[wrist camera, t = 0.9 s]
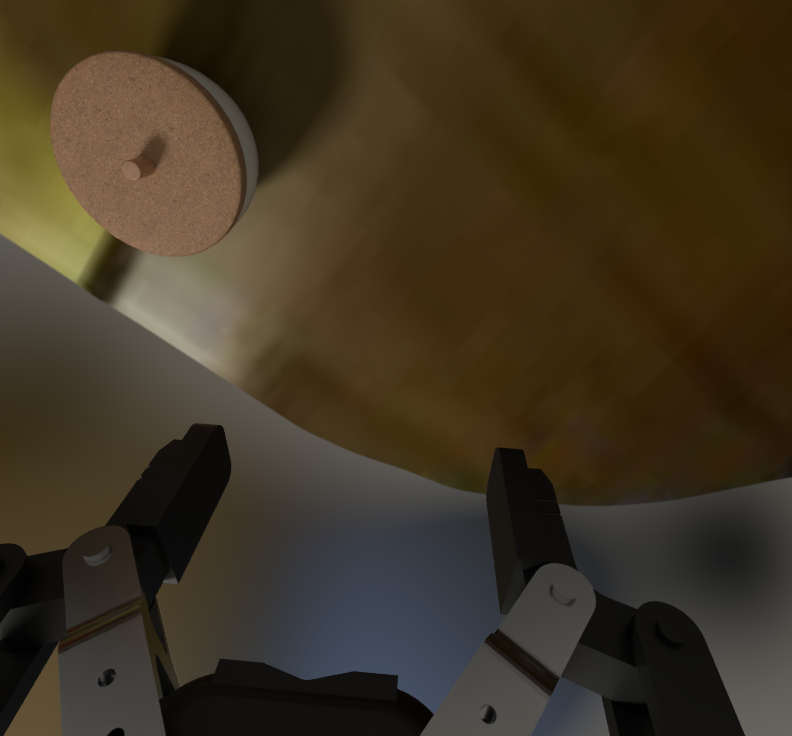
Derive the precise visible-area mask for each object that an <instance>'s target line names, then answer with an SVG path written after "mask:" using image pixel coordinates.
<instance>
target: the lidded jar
mask: <svg viewBox="0 0 792 736" xmlns="http://www.w3.org/2000/svg"><path fill="white" fill-rule="evenodd" d="M50 132H51V140H52V146H53V150H54V154H55V158H56V161H57V164H58V166H59V168H60V171H61V173H62V176H63V178H64V179H65V181H66V183H67V185H68V187H69V189H70V191H71V192H72V193H73V195H74V196H75V198H76V199H77V200H78V202H79V203H80V205H81V206H82V207H83V208H84V209H85V210H86V212H87V213H88V214H89V215H90V216H91V217H92V218H93V219H94V220H95V221H96V222H97V223H98V224H100V225H101V226H102V227H103V228H104V229H105V230H107V231H108V232H109V233H111V234H112V235H113V236H115V237H116V238H118V239H120V240H122V241H123V242H125V243H127V244H128V245H131V246H133V247H135V248H138V249H140V250H142V251H145V252H149V253H152V254H156V255H163V256H187V255H193V254H196V253H199V252H202V251H204V250H207V249H208V248H210V247H212V246H213V245H215V244H216V243H218V242H219V241H220V240H221V239H222V238H223V237H224V236H225V235H227V234H228V233H229V231H230V230H231V229H232V227H233V226H234V225H235V224H236V223H237V222H238V221H239V220H240V219H241V217H242V216H243V215H244V213H245V212H246V210H247V209H248V207H249V205H250V203H251V201H252V199H253V196H254V193H255V189H256V186H257V182H258V174H259V158H258V152H257V147H256V143H255V139H254V136H253V133H252V130H251V128H250V126H249V124H248V122H247V120H246V118H245V116H244V115H243V113H242V112H241V110H240V108H239V107H238V105H237V104H236V103H235V102H234V101H233V99H232V98H231V97H230V96H229V95H228V94H227V93H226V92H225V91H224V90H223V89H222V88H221V87H220V86H219V85H218V84H216V83H215V82H213V81H212V80H211V79H209V78H208V77H206V76H205V75H204V74H202V73H201V72H199V71H197V70H195V69H193V68H191V67H189V66H187V65H184V64H182V63H179V62H176V61H173V60H170V59H167V58H162V57H155V56H152V55H149V54H145V53H139V52H133V51H125V50H120V51H105V52H101V53H97V54H93V55H90V56H89V57H87V58H85V59H83V60H81V61H79V62H78V63H77V64H75V65H74V66H73V67H72V68H71V69H70V70H69V71H68V72H67V73H66V74H65V76H64V77H63V79H62V80H61V82H60V83H59V85H58V88H57V90H56V92H55V95H54V98H53V102H52V107H51V113H50Z"/></svg>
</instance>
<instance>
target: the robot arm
mask: <svg viewBox="0 0 792 736" xmlns="http://www.w3.org/2000/svg"><path fill="white" fill-rule="evenodd" d="M230 474H231V460H230V455H229V450H228V446H227V441H226V437H225V432H224V429H223V427H222V426H221V425H212V424H198V423H195V424H193V425H192V426H191V427H190V429H189V430H188V432H187V433H186V435H185V436H184V438H183V439H182V440H176V439H175V440H173V441H171V442H170V443H169V444H167V445H166V446H165V447H163V448H162V449H161V450H159V451H158V453H157V454H156V455H155V457H154V458H153V459H152V461H151V462H150V464H149V465H148V468H147V469H145V471H144V472H143V474H142V475H141V476H140V480H138V481H137V482H136V483H135V485H134V486H133V487H132V489H131V490H130V492H129V493H128V495H127V496H126V497H125V499H124V500H123V501H122V503H121V504H120V506H119V507H118V508H117V510H116V512H115V513H114V514H113V516H112V517H111V518H110V520H109V521H108V523H107V524H106V525H105V526H103V527H99V528H96V529H93V530H91V531H88V532H87V533H85V534H83V535H82V536H81V537H79V538H78V539H77V540H75V541H74V542H73V543H72V544H71V545H70V546H69V548H66V549H63V550H57V551H52V552H46V553H41V554H36V555H31V556H27V554H26V553H25V551H24V550H23V549H22V547H20V546H19V545H16V544H10V543H8V544H0V736H4V734H5V732H6V730H7V729H8V727H9V725H10V724H11V722H12V720H13V719H14V717H15V715H16V713H17V712H18V710H19V708H20V707H21V705H22V703H23V702H24V700H25V698H26V697H27V695H28V693H29V691H30V690H31V688H32V686H33V685H34V683H35V681H36V680H37V678H38V676H39V674H40V673H41V671H42V669H43V668H44V666H45V664H46V663H47V661H48V659H49V658H50V656H51V654H52V652H53V650H54V649H55V647H56V646H57V644H58V642H59V646H58V660H59V680H60V701H61V721H62V736H531V734H532V732H533V730H534V727H535V726H536V724H537V722H538V720H539V718H540V716H541V714H542V712H543V710H544V708H545V706H546V704H547V702H548V700H549V698H550V696H551V694H552V693H553V691H554V689H555V686H556V684H557V682H558V680H559V678H560V676H561V677H563V678H565V679H568V680H569V681H572V682H574V683H576V684H578V685H581V686H583V687H585V688H587V689H589V690H591V691H594V692H596V693H598V694H600V695H601V696H602V701H603V705H604V710H605V714H606V720H607V724H608V728H609V733H610V736H745V734H744V732H743V729H742V727H741V725H740V722H739V720H738V718H737V715H736V713H735V710H734V708H733V706H732V703H731V701H730V698H729V696H728V694H727V691H726V689H725V686H724V684H723V682H722V679H721V677H720V675H719V672H718V670H717V667H716V665H715V663H714V660H713V658H712V656H711V653H710V651H709V648H708V646H707V643H706V641H705V639H704V637H703V635H702V633H701V631H700V630H699V628H698V627H697V625H696V624H695V623H694V622H693V621H692V620H691V619H690V618H689V617H688V616H687V615H686V614H685V613H683V612H682V611H680V610H679V609H677V608H676V607H674V606H671V605H669V604H666V603H663V602H657V601H656V602H655V601H652V602H647V603H644V604H642V605H641V606H640V607H639V608H638V609H635V608H633V607H630V606H628V605H625V604H623V603H620V602H617V601H615V600H612V599H610V598H608V597H606V596H603V595H602V594H600V593H598V592H597V591H596V590H594V589H593V588H592V586H591V585H590V583H589V582H588V581H587V579H586V578H585V577H584V576H583V575H582V574H581V573H579V572H578V570H577V567H576V565H575V562H574V558H573V555H572V551H571V548H570V544H569V541H568V537H567V534H566V531H565V527H564V523H563V520H562V517H561V516H560V509H559V506H558V503H557V499H556V495H555V492H554V489H553V485H552V483H551V482H550V480H549V479H548V478H547V477H546V475H545V474H544V473H543V471H542V470H541V469H531V468H528V467H527V462H526V458H525V454H524V451H523V450H522V449H510V448H496V449H495V452H494V456H493V461H492V465H491V470H490V474H489V479H488V484H487V493H486V496H487V497H486V502H487V511H488V519H489V528H490V536H491V544H492V552H493V560H494V568H495V576H496V583H497V592H498V600H499V608H500V614H505V615H507V616H506V618H505V619H504V620H503V622H502V624H501V625H500V626H499V628H498V629H497V631H496V632H495V633H494V634H493V633H491V634H490V635H489V636H488V637H487V638H486V640H485V641H484V642H483V644H482V645H481V647H480V648H479V650H478V651H477V653H476V654H475V655H474V657H473V658H472V660H471V661H470V663H469V664H468V666H467V667H466V669H465V670H464V672H463V673H462V675H461V676H460V678H459V679H458V681H457V682H456V683H455V685H454V686H453V688H452V689H451V691H450V692H449V694H448V695H447V696H446V698H445V699H444V701H443V702H442V704H441V705H440V707H439V708H438V710H437V711H436V713H435V714H433V713H432V712H431V711H430V710H429V709H428V708H427V707H426V706H425V705H424V704H422V703H421V702H420V701H419V700H417V699H416V698H414V697H413V696H411V695H409V694H408V693H406V692H404V691H401V690H399V689H397V683H398V675H388V674H376V673H366V672H356V671H353V672H348V673H343V674H338V675H332V676H327V677H322V678H318V679H312V680H303V679H300V678H298V677H295V676H293V675H291V674H288V673H286V672H284V671H281V670H279V669H277V668H274V667H272V666H270V665H267V664H265V663H259V662H249V661H239V660H228V659H220V660H219V663H218V665H217V668H216V671H215V673H213V674H209V675H206V676H203V677H199V678H197V679H195V680H193V681H190V682H189V683H186V684H185V685H183V686H181V687H180V684H179V680H178V677H177V674H176V672H175V669H174V665H173V662H172V658H171V654H170V650H169V646H168V641H167V637H166V633H165V629H164V624H163V620H162V616H161V612H160V607H159V603H158V599H157V596H156V595H157V593H158V591H159V589H160V587H161V585H162V583H174V584H179V582H180V580H181V578H182V576H183V573H184V572H185V569H186V567H187V565H188V563H189V561H190V559H191V557H192V555H193V553H194V551H195V549H196V547H197V545H198V543H199V541H200V539H201V537H202V535H203V533H204V530H205V529H206V527H207V525H208V523H209V521H210V518H211V517H212V514H213V512H214V510H215V508H216V506H217V504H218V502H219V500H220V498H221V496H222V494H223V492H224V490H225V488H226V486H227V484H228V481H229V478H230Z"/></svg>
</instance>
